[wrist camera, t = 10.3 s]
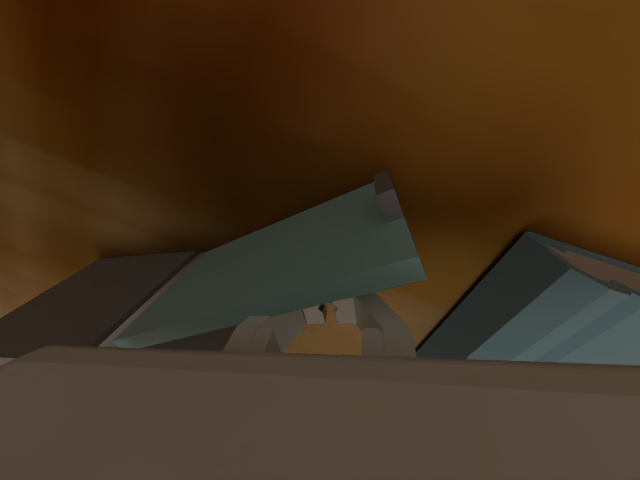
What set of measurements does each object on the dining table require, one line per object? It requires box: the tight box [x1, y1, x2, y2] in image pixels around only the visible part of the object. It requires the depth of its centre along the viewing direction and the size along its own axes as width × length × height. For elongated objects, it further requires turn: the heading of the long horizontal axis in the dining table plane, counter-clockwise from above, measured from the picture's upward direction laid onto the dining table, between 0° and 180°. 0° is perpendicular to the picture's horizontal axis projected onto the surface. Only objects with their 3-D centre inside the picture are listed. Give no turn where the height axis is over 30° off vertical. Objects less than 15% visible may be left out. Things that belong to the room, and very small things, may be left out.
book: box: [416, 231, 640, 365], centre depth 17 cm, size 23×16×5 cm
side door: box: [98, 170, 427, 348], centre depth 11 cm, size 15×2×8 cm, turn 117°
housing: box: [0, 251, 237, 366], centre depth 19 cm, size 18×10×10 cm, turn 11°
